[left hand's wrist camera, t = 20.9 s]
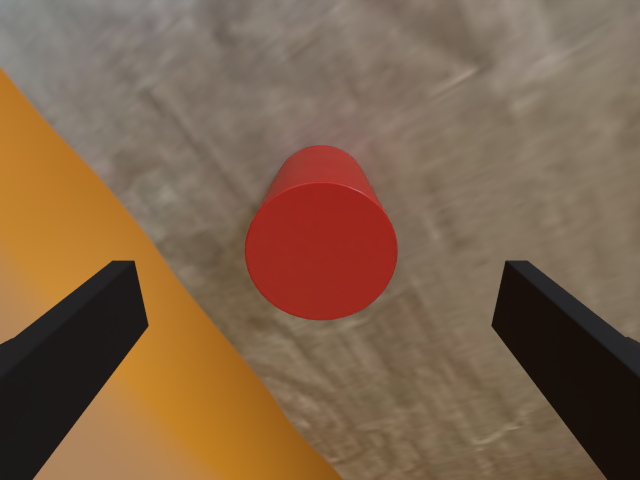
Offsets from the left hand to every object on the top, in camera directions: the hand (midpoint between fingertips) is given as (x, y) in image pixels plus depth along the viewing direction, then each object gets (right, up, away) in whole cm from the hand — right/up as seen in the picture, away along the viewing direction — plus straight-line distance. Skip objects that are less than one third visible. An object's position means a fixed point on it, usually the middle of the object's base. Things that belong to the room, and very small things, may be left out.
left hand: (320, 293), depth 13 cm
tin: (0, +5, +12) cm, 14 cm away
